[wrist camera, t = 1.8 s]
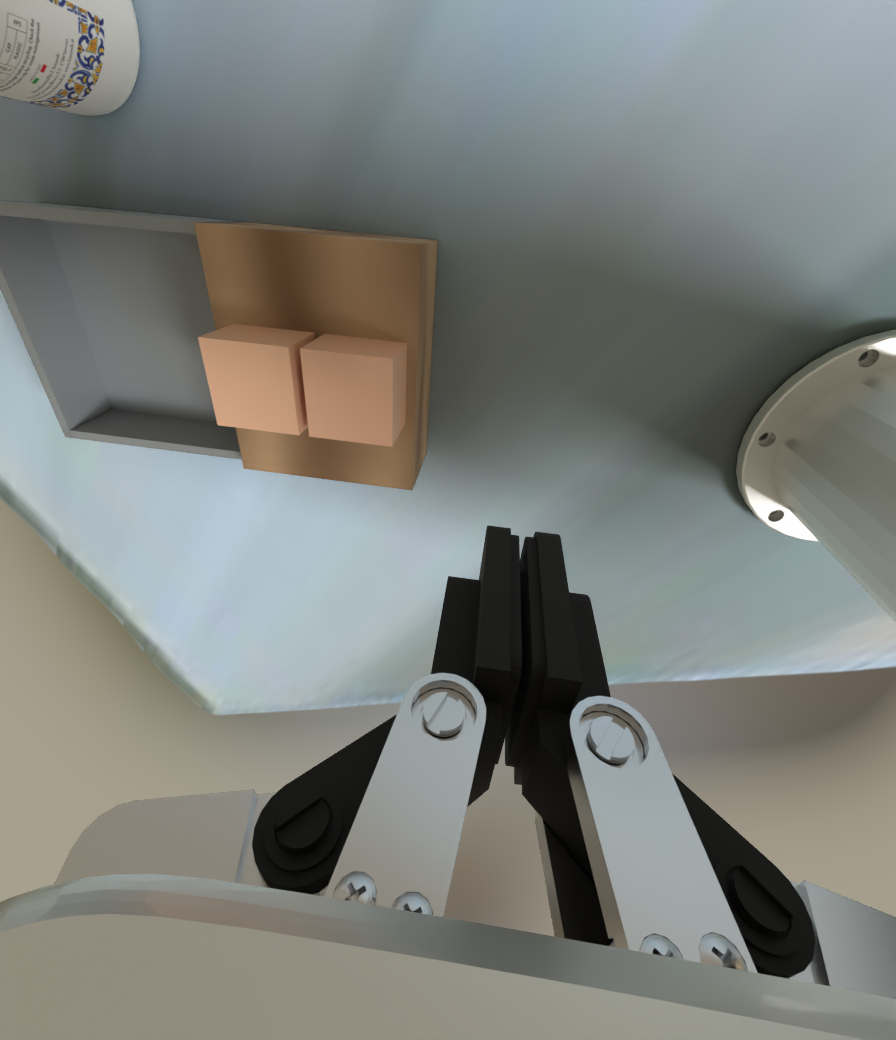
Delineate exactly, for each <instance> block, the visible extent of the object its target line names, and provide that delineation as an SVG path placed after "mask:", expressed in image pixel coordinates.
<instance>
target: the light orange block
mask: <svg viewBox="0 0 896 1040" xmlns="http://www.w3.org/2000/svg"><path fill="white" fill-rule="evenodd" d="M313 340H315V333H314V332H305V331H295V330H286V329H277V328H268V327H259V326H250V325H240V324H232V325H229V326H227V327H224V328H221V329H218V330H216V331H213V332H210V333H208V334H205V335H202V336H199V337H198V341H199V345H200V349H201V354H202V358H203V363H204V367H205V371H206V376H207V380H208V385H209V389H210V394H211V398H212V402H213V407H214V411H215V416H216V420H217V425H219V426H227V427H235V428H244V429H252V430H260V431H268V432H276V433H284V434H292V435H300V434H301V433H302V432H303V431H304V430H305V429H306V428H307V427H308V421H307V411H306V402H305V393H304V383H303V374H302V364H301V355H300V348H302V347H303V346H305V345H307V344H308V343H310V342H312V341H313Z"/></svg>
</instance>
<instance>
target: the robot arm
mask: <svg viewBox="0 0 896 1040" xmlns="http://www.w3.org/2000/svg"><path fill="white" fill-rule="evenodd" d="M736 475H737V481H738V487H739V490H740V492H741V495H742V497H743V499H744V501H745V503H746V504H747V505H748V506H749V508H750V509H751V510H752V512H753V513H754V514H755V515H756V516H757V517H758V518H759V519H760V520H761V521H762V522H763V523H764V524H765V525H767V526H768V527H770V528H772V529H774V530H776V531H777V532H779V533H781V534H784V535H787V536H791V537H794V538H797V539H802V540H810V541H818V542H820V543H821V544H822V545H823V546H824V547H825V548H826V549H827V550H828V551H829V552H830V553H831V554H832V555H833V556H834V558H835V559H836V560H837V561H838V562H839V563H840V564H841V565H842V566H843V567H844V568H845V569H846V570H847V571H848V572H849V573H850V574H851V575H852V576H853V578H854V579H855V580H856V581H857V582H858V583H859V584H860V585H861V586H862V587H863V588H864V589H865V590H866V591H867V592H868V593H869V594H870V595H871V597H872V598H873V599H874V600H875V601H876V602H877V603H878V604H879V605H880V606H881V607H882V608H883V609H884V610H885V611H886V612H887V613H888V614H889V615H890V617H891V618H892V619H893V620H894V621H895V622H896V330H890V331H886V332H882V333H878V334H874V335H870V336H866V337H863V338H860V339H858V340H855V341H853V342H850V343H848V344H845V345H843V346H840V347H838V348H835V349H834V350H832V351H830V352H828V353H827V354H825V355H823V356H821V357H819V358H818V359H816V360H814V361H812V362H810V363H809V364H808V365H806V366H805V367H804V368H802V369H801V370H800V371H798V372H797V373H796V374H794V375H793V376H792V377H790V378H789V379H788V380H787V381H786V382H785V383H784V384H783V385H781V386H780V387H779V388H778V389H777V390H776V391H775V392H774V393H773V394H772V395H771V396H770V397H769V398H768V400H767V401H766V402H765V403H764V405H763V406H762V407H761V409H760V410H759V411H758V413H757V414H756V415H755V416H754V418H753V420H752V422H751V424H750V425H749V427H748V429H747V431H746V433H745V435H744V437H743V440H742V443H741V446H740V449H739V453H738V457H737V468H736ZM504 739H505V764H506V766H512V767H514V782H515V784H519V785H522V795H523V796H524V797H525V798H526V799H527V801H528V802H529V803H530V804H531V805H532V806H533V808H534V810H535V824H536V831H537V836H538V842H539V848H540V854H541V860H542V865H543V871H544V877H545V883H546V888H547V895H548V901H549V906H550V912H551V918H552V924H553V929H554V936H555V937H553V936H548V935H541V934H536V933H531V932H524V931H519V930H514V929H508V928H502V927H497V926H490V925H485V924H480V923H474V922H468V921H463V920H456V919H451V918H445V917H443V916H444V912H445V907H446V903H447V898H448V893H449V889H450V884H451V879H452V875H453V870H454V866H455V861H456V856H457V852H458V847H459V842H460V838H461V833H462V829H463V824H464V819H465V815H466V810H467V807H468V806H469V805H470V804H471V803H472V802H473V801H475V800H476V799H477V798H478V797H480V796H481V795H482V794H483V793H484V792H485V791H487V790H488V789H489V785H490V782H491V778H492V774H493V770H494V766H495V764H498V761H499V758H500V754H501V750H502V746H503V743H504ZM0 1040H896V917H894V916H892V915H889V914H887V913H884V912H882V911H879V910H877V909H874V908H872V907H869V906H867V905H864V904H862V903H860V902H857V901H855V900H852V899H850V898H847V897H845V896H842V895H840V894H837V893H835V892H832V891H830V890H827V889H825V888H822V887H820V886H818V885H815V884H812V883H810V882H808V881H805V880H804V881H803V882H801V883H800V884H797V883H794V882H792V881H789V880H788V879H787V878H786V877H785V876H784V875H783V874H782V872H781V871H780V870H779V869H778V868H777V867H776V866H775V865H774V864H773V863H772V862H770V861H769V860H768V859H767V858H766V857H765V856H764V855H763V854H761V853H760V852H759V851H758V850H757V849H756V848H755V847H754V846H753V845H751V844H750V843H749V842H748V841H747V840H746V839H745V838H743V837H742V836H741V835H740V834H739V833H738V832H737V831H736V830H734V828H732V827H731V826H730V825H729V824H728V823H727V822H726V821H725V820H723V819H722V818H721V817H720V816H719V815H718V814H717V813H716V812H715V811H713V810H712V809H711V808H710V807H709V806H708V805H707V804H706V803H705V802H703V801H702V800H701V799H700V798H699V797H698V796H697V795H696V794H695V793H693V792H692V791H691V790H690V789H689V788H688V787H687V786H685V785H684V784H683V783H682V782H681V781H680V780H679V779H678V778H677V777H676V776H674V775H673V774H672V773H671V770H670V768H669V766H668V763H667V761H666V759H665V756H664V754H663V752H662V750H661V747H660V745H659V742H658V740H657V738H656V736H655V734H654V732H653V731H652V729H651V727H650V725H649V723H648V722H647V721H646V720H645V719H644V718H643V717H642V715H640V713H639V712H638V711H636V710H635V709H633V708H632V707H631V706H629V705H628V704H626V703H624V702H622V701H619V700H617V699H615V698H612V697H611V696H610V691H609V687H608V682H607V677H606V672H605V667H604V663H603V658H602V653H601V648H600V644H599V639H598V634H597V629H596V624H595V620H594V615H593V610H592V605H591V601H590V598H589V597H588V595H584V594H576V593H569V589H568V583H567V576H566V570H565V564H564V557H563V551H562V544H561V538H560V535H557V534H549V533H541V532H535V534H534V537H533V538H532V537H525V540H524V545H523V549H522V554H521V559H520V556H519V536H517V535H511V529H510V528H503V527H495V526H487V530H486V537H485V543H484V550H483V556H482V563H481V569H480V576H479V580H473V579H465V578H458V577H451V576H448V581H447V586H446V592H445V598H444V603H443V609H442V615H441V620H440V626H439V632H438V637H437V643H436V649H435V655H434V660H433V666H432V672H431V674H430V675H427V676H425V677H423V678H421V679H419V680H418V681H416V682H415V683H414V684H413V685H412V686H411V687H410V688H409V690H408V691H407V693H406V695H405V696H404V698H403V701H402V703H401V706H400V709H399V711H398V713H397V715H395V716H394V717H392V718H390V719H389V720H387V721H386V722H384V723H383V724H381V725H379V726H378V727H376V728H375V729H373V730H372V731H370V732H369V733H367V734H365V735H364V736H362V737H361V738H359V739H358V740H356V741H354V742H353V743H351V744H350V745H348V746H346V747H345V748H343V749H342V750H340V751H339V752H337V753H335V754H334V755H332V756H331V757H329V758H328V759H326V760H324V761H323V762H321V763H320V764H318V765H317V766H315V767H313V768H312V769H310V770H309V771H307V772H306V773H304V774H302V775H301V776H299V777H298V778H296V779H295V780H293V781H291V782H290V783H288V784H287V785H285V786H284V787H283V788H282V789H280V790H279V791H278V792H277V793H266V794H256V793H255V790H242V791H232V792H221V793H210V794H200V795H189V796H179V797H167V798H158V799H157V798H156V799H146V800H135V801H131V802H128V803H124V804H121V805H117V806H115V807H114V808H112V809H110V810H109V811H107V812H105V813H103V814H102V815H100V816H99V817H98V818H97V819H96V820H95V821H93V822H92V823H91V824H90V825H89V826H88V827H87V828H86V829H85V830H84V831H83V832H82V833H81V835H80V836H79V838H78V839H77V841H76V843H75V844H74V846H73V847H72V849H71V850H70V852H69V854H68V857H67V858H66V860H65V863H64V865H63V867H62V869H61V871H60V873H59V875H58V877H57V879H56V881H55V883H54V884H53V885H49V886H46V887H42V888H39V889H36V890H33V891H30V892H27V893H24V894H20V895H17V896H14V897H11V898H9V899H6V900H4V901H2V902H0Z"/></svg>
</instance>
